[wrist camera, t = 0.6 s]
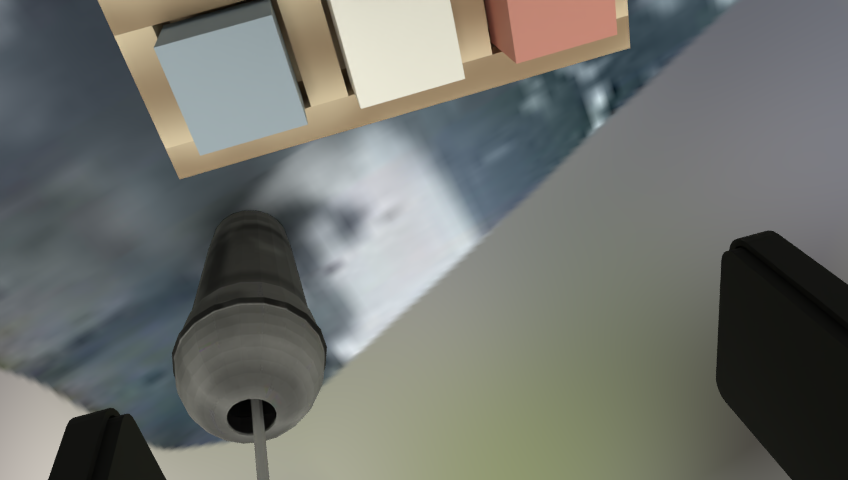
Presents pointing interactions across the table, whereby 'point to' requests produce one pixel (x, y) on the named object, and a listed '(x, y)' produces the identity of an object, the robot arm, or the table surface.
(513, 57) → the red key
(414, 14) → the white key
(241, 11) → the blue key
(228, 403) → the beverage cup
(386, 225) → the table surface
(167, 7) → the key box
